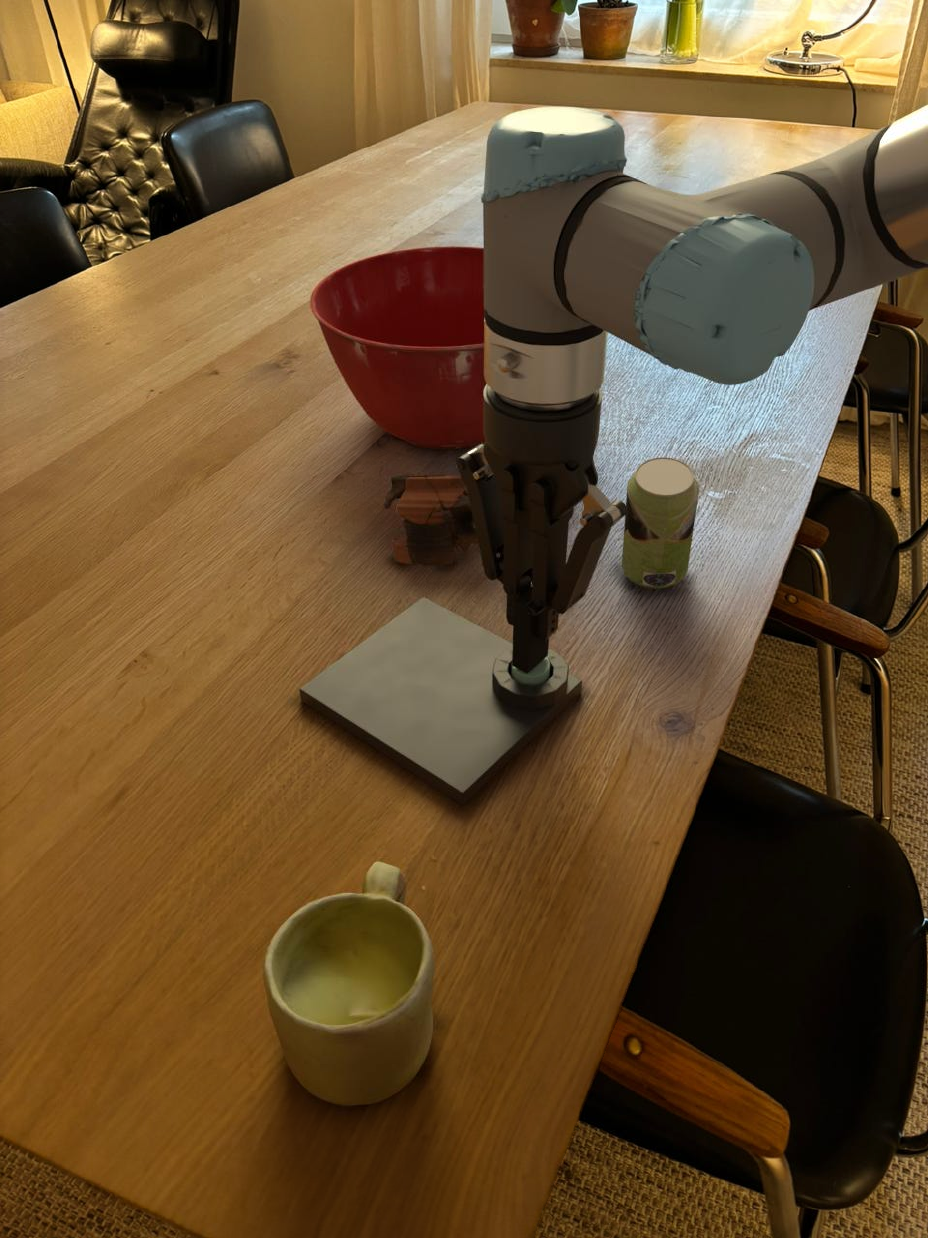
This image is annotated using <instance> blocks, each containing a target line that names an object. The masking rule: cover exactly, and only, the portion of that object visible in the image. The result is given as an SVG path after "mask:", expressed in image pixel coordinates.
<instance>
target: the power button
mask: <svg viewBox="0 0 928 1238" xmlns="http://www.w3.org/2000/svg"><path fill="white" fill-rule="evenodd" d="M549 675H550V662H549V660H548V658H547V657H546V658H545V659H543V660H542V661H541V662H540V663H539V664H538V665H537V666H536V667H534V668H533V669H532V670H531V671H530V672H529V673H528V674H527V673H525V672H523V671H521V670H520V669H518V668H516V667H514V666H512V675H511V677H512V679H513V680H515V681H517V682H519V683H521V684H525V685H534V686H535V685H539V684H542V683H545V682H547V681H548V680H549Z"/></svg>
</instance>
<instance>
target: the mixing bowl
mask: <svg viewBox="0 0 928 1238" xmlns="http://www.w3.org/2000/svg"><path fill="white" fill-rule="evenodd" d="M310 295H311V296H310V299H309V304H310V306H309V307H310V309H311V312H312V314H313V315H314V317H315V319H316V320H317V321H318V324H319V327H320V330H321V333H322V335H323V337H324V338H323V339H324V340H325V343H326V345H327V347H328V349H329V352H330V354H331V357H332V358H333V361H334V363H335V365H336V368H338V370H339V371H338V372H339V373H340V374H341V376H342V378H343V380H344V382H345V384H346V385H347V387H348V389H349V390H350V392H351V394H352V395H353V397H354V398H355V400H356V401H357V403H358V404H359V406H360V407H361V408H362V410H363V411H364V412H365V414H366V415H367V416H368V417H369V418H370V419H371V420H372V421H373V422H374V423H375V424H376V425H377V426H378V427H379V428H381V429H382V430H383V431H385V432H387V433H389V434H391V435H393V436H394V437H396V438H398V439H399V440H400V439H401V440H403V441H405V442H407V443H409V444H411V445H414V446H419V447H422V448H426V449H435V450H457V449H464V448H470V447H476V446H478V445H479V444H484V443H485V438H484V434H483V391H484V387H485V386H486V384H487V383H486V381H485V378H484V247H478V246H459V245H457V246H456V245H453V246H426V247H416V248H415V247H414V248H408V249H407V248H406V249H400V250H394V251H388V252H384V253H380V254H375V255H372V256H369V257H365V258H362V259H359V260H355V261H353V262H351V263H348V264H345V265H343V266H342V267H340V268H337V269H336V270H334V271H332V272H331V273H329V274H328V275H326V276H325V277H324V278H323V279H321V280H320V281H319V282H318V283H317V285H316V286H315V287H314V288H313V291H312V293H311V294H310Z"/></svg>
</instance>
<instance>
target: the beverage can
mask: <svg viewBox="0 0 928 1238" xmlns="http://www.w3.org/2000/svg"><path fill="white" fill-rule="evenodd" d="M626 487H627V488H626V497H625V499H626V500H625V505H626V507H627V513H626V515H625V516H624V524H623V525H624V526H623V539H622V551H621V552H622V553H621V567H622V571H623V573H624V575H625V576H626V577H627V578H628V579H629V580H630V581H631V582H633V583H634V584H635V585H638V586H640V587H644V588H648V589H666V588H669V587H672V586H675V585H676V584H678V583H680V582H681V581H682V580H683V579H684V578H685V577H686V575H687V573H688V570H689V564H690V557H691V551H692V550H691V549H692V545H693V544H692V542H693V536H694V529H695V523H696V515H697V508H698V501H699V494H700V488H699V487H700V486H699V484H698V480H697V478H695V474H694V472H693V469H692V468H691V467H690V466H689V465H688V464H686V463H685V462H684V461H681V460H679V459H676V458H674V457H666V456H661V457H659V456H658V457H653V458H650V459H647V460H645V461H643V462H641V464H639V465H638V466H637V468H636V470H635V471H634V472H633V474H632V475H631V476H630V478H629V479H628V482H627V486H626Z"/></svg>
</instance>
